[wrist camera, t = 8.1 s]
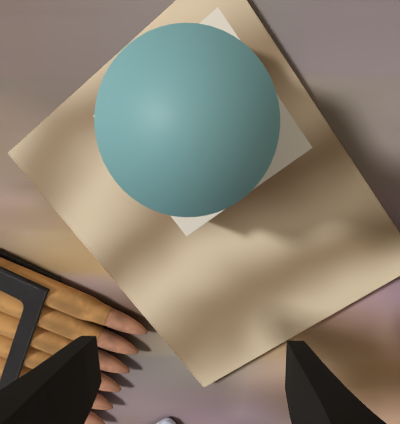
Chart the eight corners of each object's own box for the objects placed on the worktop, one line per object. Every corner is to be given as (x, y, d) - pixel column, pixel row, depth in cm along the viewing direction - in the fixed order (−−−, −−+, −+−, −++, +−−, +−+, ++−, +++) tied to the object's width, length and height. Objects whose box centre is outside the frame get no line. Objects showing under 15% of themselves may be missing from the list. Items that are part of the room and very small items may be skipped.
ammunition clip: (-29, 256, 19) (149, 330, 20) (-8, 246, 21) (154, 313, 22) (-63, 384, 22) (95, 445, 23) (-41, 365, 24) (104, 423, 24)
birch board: (412, 259, 19) (420, 264, 18) (204, 378, 22) (203, 387, 22) (220, -32, 16) (220, -40, 16) (16, 152, 20) (7, 153, 19)
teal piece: (283, 143, 12) (318, 146, 7) (189, 211, 13) (169, 249, 8) (213, 40, 11) (204, -25, 7) (119, 119, 12) (57, 107, 8)
